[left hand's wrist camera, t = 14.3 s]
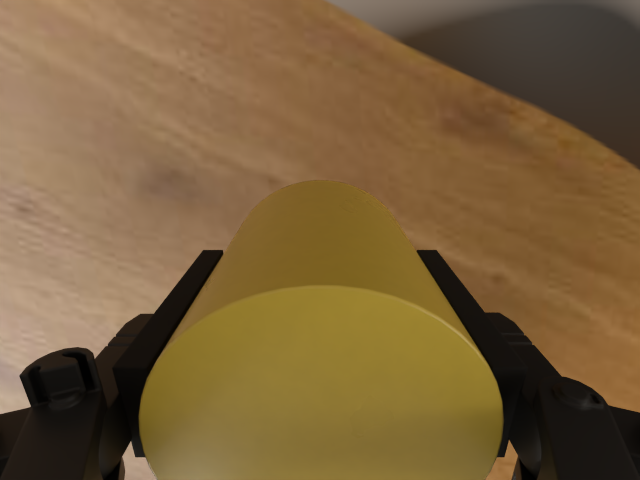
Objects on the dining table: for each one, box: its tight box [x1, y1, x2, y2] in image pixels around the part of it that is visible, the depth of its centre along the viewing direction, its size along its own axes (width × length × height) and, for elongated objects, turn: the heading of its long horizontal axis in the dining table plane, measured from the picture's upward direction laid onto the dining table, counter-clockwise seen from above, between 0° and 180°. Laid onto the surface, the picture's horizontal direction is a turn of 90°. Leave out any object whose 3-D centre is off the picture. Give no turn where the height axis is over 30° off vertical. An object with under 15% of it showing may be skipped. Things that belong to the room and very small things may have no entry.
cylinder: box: [139, 180, 504, 480], centre depth 11 cm, size 8×8×9 cm
